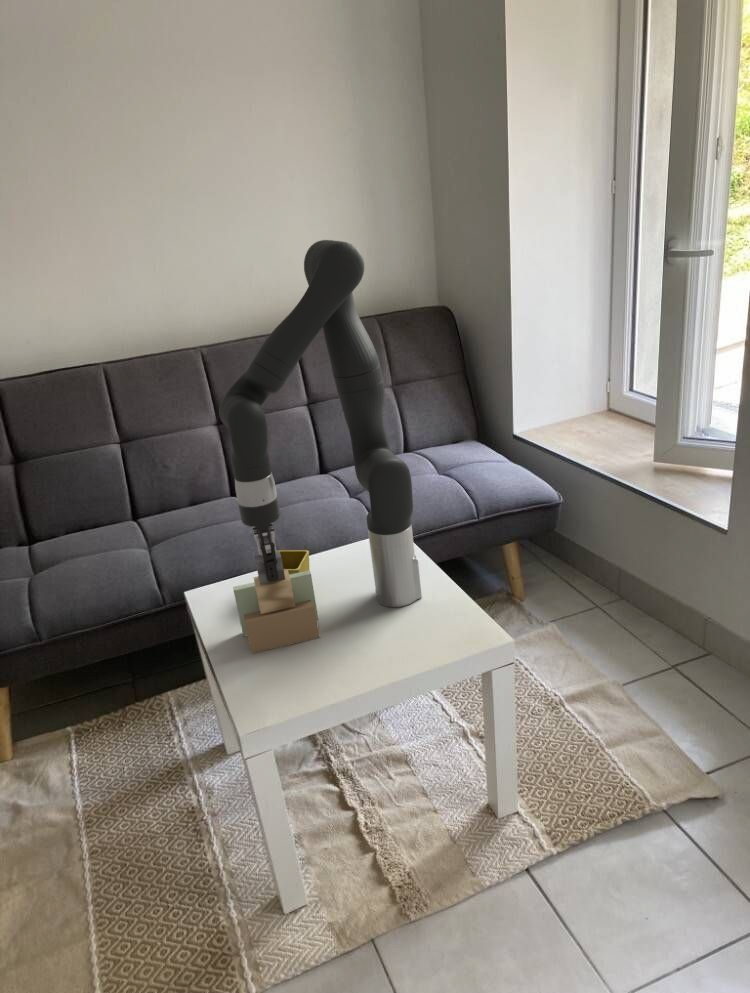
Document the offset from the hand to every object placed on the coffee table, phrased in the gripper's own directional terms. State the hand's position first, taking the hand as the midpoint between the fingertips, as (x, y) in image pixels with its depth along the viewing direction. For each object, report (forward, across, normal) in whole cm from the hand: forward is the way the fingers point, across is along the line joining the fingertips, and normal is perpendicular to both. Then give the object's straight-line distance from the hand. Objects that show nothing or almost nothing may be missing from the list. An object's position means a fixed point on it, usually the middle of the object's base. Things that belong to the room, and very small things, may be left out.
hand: (271, 575), depth 157 cm
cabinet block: (+7, 0, 0) cm, 7 cm away
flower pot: (+14, +16, -4) cm, 22 cm away
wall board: (+14, 0, 0) cm, 14 cm away
